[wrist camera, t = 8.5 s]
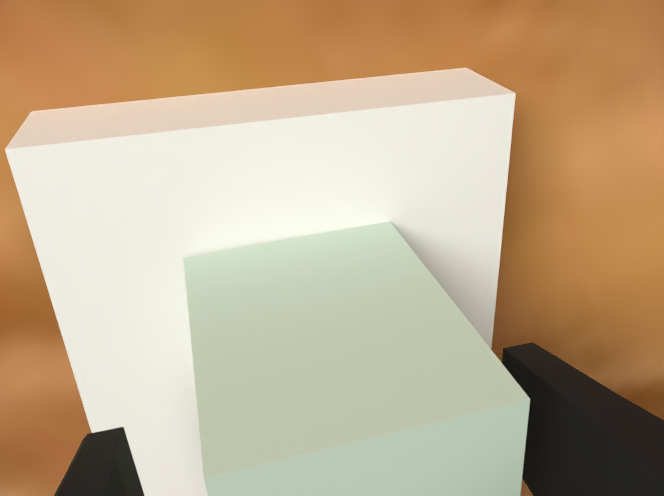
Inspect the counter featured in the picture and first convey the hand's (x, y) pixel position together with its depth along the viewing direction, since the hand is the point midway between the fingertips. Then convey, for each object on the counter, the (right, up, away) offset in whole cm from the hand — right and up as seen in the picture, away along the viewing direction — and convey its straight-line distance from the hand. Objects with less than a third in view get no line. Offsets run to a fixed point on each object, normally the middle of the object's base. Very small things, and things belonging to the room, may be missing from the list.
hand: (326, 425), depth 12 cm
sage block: (-1, +2, +3) cm, 3 cm away
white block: (-1, +3, +5) cm, 6 cm away
